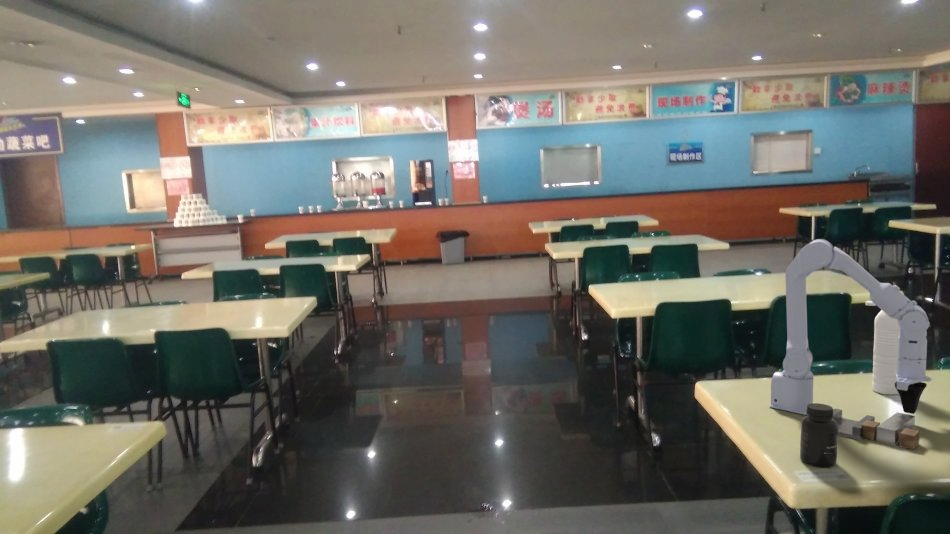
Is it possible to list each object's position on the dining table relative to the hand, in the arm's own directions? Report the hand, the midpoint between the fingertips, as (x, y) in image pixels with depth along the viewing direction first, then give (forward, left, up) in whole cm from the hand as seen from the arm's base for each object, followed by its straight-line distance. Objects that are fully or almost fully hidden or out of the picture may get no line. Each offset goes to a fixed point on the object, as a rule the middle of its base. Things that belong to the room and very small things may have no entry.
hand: (909, 412), depth 152 cm
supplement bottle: (-7, -37, -3) cm, 38 cm away
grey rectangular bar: (0, -11, -3) cm, 11 cm away
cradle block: (-9, -14, -3) cm, 17 cm away
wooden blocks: (0, -15, -3) cm, 15 cm away
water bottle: (-12, +22, -3) cm, 25 cm away
